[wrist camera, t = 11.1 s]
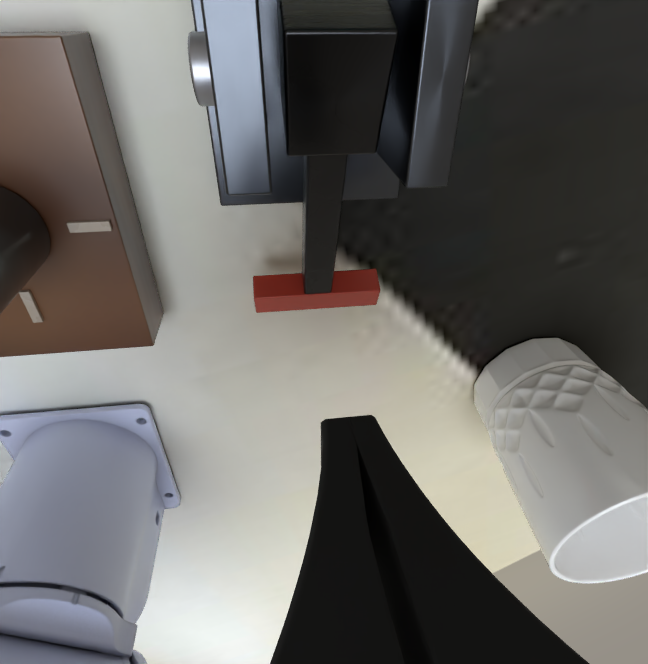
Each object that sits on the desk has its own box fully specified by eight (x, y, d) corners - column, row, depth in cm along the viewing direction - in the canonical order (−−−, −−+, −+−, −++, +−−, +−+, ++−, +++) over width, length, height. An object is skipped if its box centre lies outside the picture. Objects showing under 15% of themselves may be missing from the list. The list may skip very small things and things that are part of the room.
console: (164, 313, 21) (153, 348, 18) (-17, 325, 20) (-50, 363, 18) (89, 31, 14) (58, 35, 12) (-185, 33, 13) (-270, 37, 11)
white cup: (500, 318, 23) (627, 479, 15) (618, 337, 25) (785, 488, 17) (442, 419, 28) (516, 585, 20) (546, 428, 30) (652, 583, 22)
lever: (369, 271, 19) (379, 318, 18) (254, 278, 19) (256, 327, 17) (443, -32, 9) (473, 29, 8) (206, -34, 9) (204, 31, 8)
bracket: (391, 188, 18) (466, 290, 12) (222, 195, 18) (201, 307, 11) (423, -164, 12) (615, -364, 6) (170, -173, 12) (55, -412, 5)
